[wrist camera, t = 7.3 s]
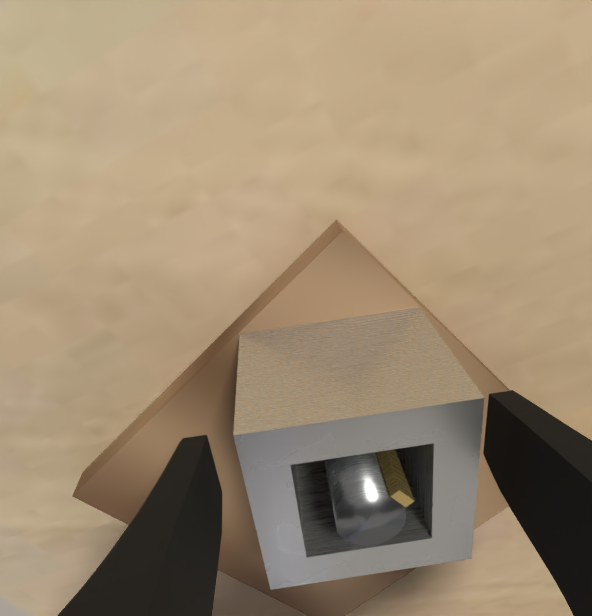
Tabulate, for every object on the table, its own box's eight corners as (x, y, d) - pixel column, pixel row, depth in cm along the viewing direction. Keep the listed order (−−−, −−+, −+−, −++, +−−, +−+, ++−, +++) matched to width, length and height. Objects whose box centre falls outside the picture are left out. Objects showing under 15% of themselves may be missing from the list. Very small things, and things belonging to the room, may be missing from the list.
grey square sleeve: (419, 443, 15) (471, 558, 11) (266, 466, 15) (270, 589, 11) (419, 307, 13) (484, 397, 9) (239, 333, 13) (233, 435, 9)
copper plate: (325, 601, 20) (329, 625, 19) (82, 472, 16) (72, 496, 15) (560, 440, 17) (577, 460, 16) (336, 219, 12) (343, 230, 11)
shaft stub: (336, 419, 14) (368, 554, 10) (302, 393, 14) (321, 525, 10) (378, 384, 14) (429, 511, 10) (344, 356, 13) (383, 478, 9)
